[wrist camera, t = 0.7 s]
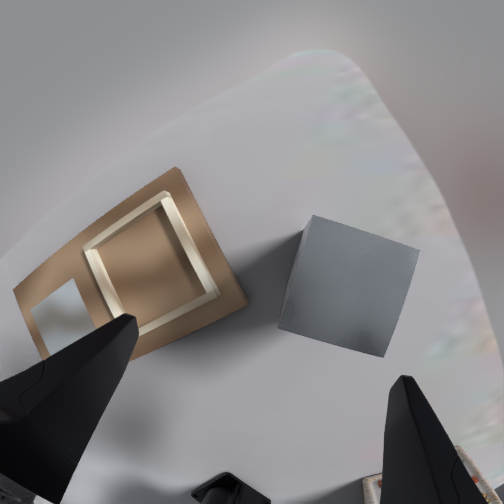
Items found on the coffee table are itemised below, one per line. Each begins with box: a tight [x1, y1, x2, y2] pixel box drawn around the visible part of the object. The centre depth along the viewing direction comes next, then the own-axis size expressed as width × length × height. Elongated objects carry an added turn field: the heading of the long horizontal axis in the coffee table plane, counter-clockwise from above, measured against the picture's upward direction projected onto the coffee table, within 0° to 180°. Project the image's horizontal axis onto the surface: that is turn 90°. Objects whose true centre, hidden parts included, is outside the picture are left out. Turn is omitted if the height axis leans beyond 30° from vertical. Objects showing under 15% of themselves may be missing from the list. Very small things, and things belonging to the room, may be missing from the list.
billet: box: [278, 215, 420, 358], centre depth 18 cm, size 5×5×13 cm
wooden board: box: [13, 167, 249, 361], centre depth 26 cm, size 13×24×2 cm, turn 118°
